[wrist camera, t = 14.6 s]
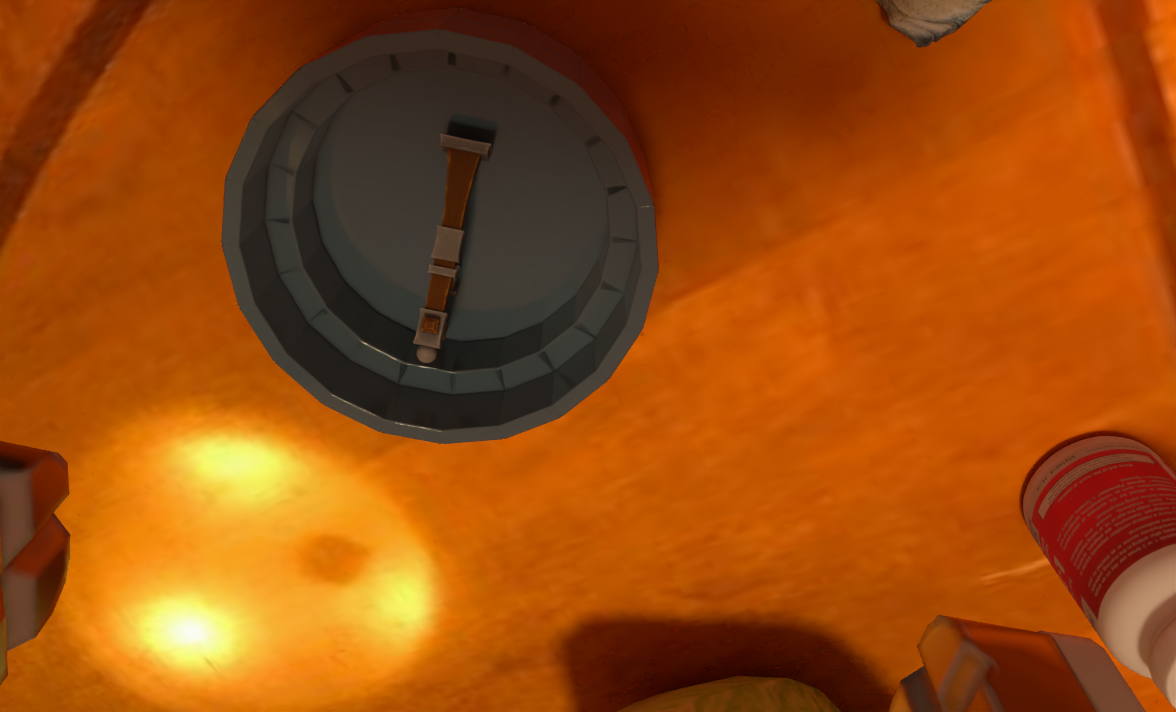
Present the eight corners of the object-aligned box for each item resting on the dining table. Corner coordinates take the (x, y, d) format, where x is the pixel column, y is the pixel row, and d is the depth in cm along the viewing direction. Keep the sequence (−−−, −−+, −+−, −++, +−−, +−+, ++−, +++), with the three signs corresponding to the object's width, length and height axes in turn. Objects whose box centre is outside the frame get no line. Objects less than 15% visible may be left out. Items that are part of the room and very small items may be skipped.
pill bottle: (989, 510, 44) (1104, 697, 34) (1086, 407, 41) (1241, 575, 31) (1094, 568, 45) (1235, 764, 35) (1193, 471, 43) (1374, 651, 33)
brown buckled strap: (410, 354, 39) (396, 359, 34) (447, 153, 39) (439, 132, 34) (455, 362, 39) (448, 368, 34) (493, 162, 39) (491, 142, 34)
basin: (263, 330, 40) (211, 401, 35) (292, -35, 34) (235, -18, 29) (602, 397, 41) (603, 475, 36) (690, 56, 35) (707, 89, 30)
